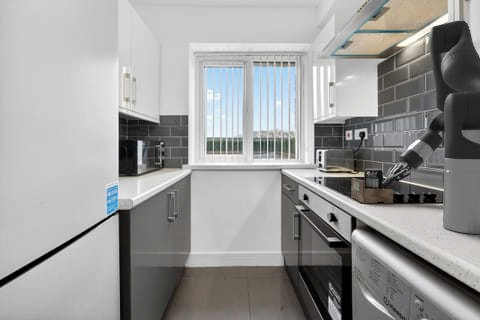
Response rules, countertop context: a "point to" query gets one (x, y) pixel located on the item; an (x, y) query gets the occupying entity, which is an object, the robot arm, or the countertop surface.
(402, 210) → the countertop surface
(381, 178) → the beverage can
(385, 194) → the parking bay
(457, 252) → the countertop surface
